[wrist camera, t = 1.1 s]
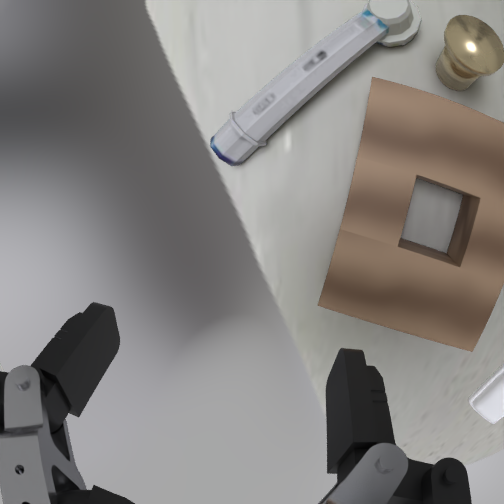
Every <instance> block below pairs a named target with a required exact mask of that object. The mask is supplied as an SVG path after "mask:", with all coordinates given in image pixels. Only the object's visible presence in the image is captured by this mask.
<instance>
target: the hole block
mask: <svg viewBox="0 0 504 504" xmlns="http://www.w3.org/2000/svg"><path fill="white" fill-rule="evenodd" d="M416 178H418V179H421V180H424V181H427V182H430V183H433V184H436V185H438V186H441V187H444V188H447V189H449V190H452V191H455V192H457V193H460V194H463V198H462V202H461V206H460V210H459V214H458V218H457V221H456V225H455V228H454V232H453V235H452V238H451V242H450V245H449V248H448V251H447V254H446V253H443V252H441V251H438V250H435V249H432V248H429V247H426V246H423V245H420V244H417V243H414V242H411V241H408V240H405V239H401V238H400V237H401V233H402V230H403V227H404V223H405V219H406V216H407V212H408V208H409V205H410V201H411V197H412V193H413V189H414V184H415V180H416ZM503 284H504V123H502V122H500V121H498V120H496V119H494V118H492V117H490V116H487V115H485V114H483V113H481V112H478V111H476V110H473V109H471V108H469V107H466V106H464V105H461V104H459V103H456V102H453V101H451V100H448V99H445V98H442V97H440V96H437V95H434V94H431V93H428V92H425V91H422V90H418V89H415V88H412V87H409V86H405V85H402V84H398V83H394V82H391V81H387V80H383V79H379V78H375V77H372V81H371V87H370V93H369V99H368V105H367V110H366V116H365V121H364V126H363V131H362V136H361V141H360V146H359V151H358V156H357V160H356V165H355V169H354V174H353V178H352V182H351V187H350V191H349V195H348V199H347V203H346V207H345V211H344V215H343V219H342V223H341V226H340V230H339V234H338V238H337V241H336V245H335V249H334V252H333V256H332V259H331V263H330V266H329V270H328V273H327V276H326V280H325V283H324V286H323V290H322V293H321V296H320V299H319V302H318V306H321V307H324V308H327V309H330V310H333V311H336V312H339V313H342V314H346V315H349V316H352V317H355V318H358V319H362V320H365V321H368V322H371V323H375V324H378V325H381V326H384V327H388V328H391V329H394V330H398V331H401V332H404V333H408V334H411V335H415V336H418V337H421V338H425V339H428V340H432V341H435V342H439V343H442V344H446V345H449V346H453V347H456V348H460V349H464V350H467V351H471V352H472V351H473V350H474V348H475V346H476V344H477V342H478V340H479V338H480V336H481V334H482V332H483V330H484V328H485V326H486V324H487V322H488V319H489V317H490V315H491V313H492V310H493V308H494V306H495V304H496V301H497V299H498V296H499V294H500V291H501V289H502V286H503Z"/></svg>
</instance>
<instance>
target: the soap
mask: <svg viewBox="0 0 504 504" xmlns="http://www.w3.org/2000/svg"><path fill="white" fill-rule="evenodd" d="M468 401H469V404H470V405H471V406H472V408H473V409H474V410H475V411H476V412H477V413H479V414H480V415H481V416H482V417H483V418H484V419H486V420H487V421H489V422H490V423H492V424H494V423H496V422H497V421H498V420H500V419H501V418H502V417H504V364H503V365H501V366H500V367H499V368H498V369H497V370H496V371H495V372H494V373H493V374H492V375H491V376H490V377H489V378H488V379H487V380H486V381H485V382H484V383H483V384H482V385H481V386H480V387H479V388H478V389H477V390H476V391H475V392H474V393H473V394H472V395H471V396H470V397H469V398H468Z"/></svg>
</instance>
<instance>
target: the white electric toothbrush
mask: <svg viewBox="0 0 504 504" xmlns="http://www.w3.org/2000/svg"><path fill="white" fill-rule="evenodd" d="M420 23H421V16H420V13H419V9H418V6H416V5H415V4H414V3H413V2H412V1H411V0H369V2H368V3H367V4H365V7H364V9H363V11H362V12H360V13H359V14H357V15H356V16H354V17H353V18H351V19H350V20H348V21H347V22H346V23H344V24H343V25H341V26H340V27H339V28H337V29H336V30H334V31H333V32H332V33H330V34H329V35H328V36H326V37H325V38H324V39H322V40H321V41H320V42H318V43H317V44H316V45H314V46H313V47H312V48H311V49H309V50H308V51H307V52H305V53H304V54H303V55H302V56H300V57H299V58H298V59H297V60H295V61H294V62H293V63H292V64H290V65H289V66H288V67H287V68H286V69H284V70H283V71H282V72H281V73H280V74H278V75H277V76H276V77H275V78H274V79H273V80H271V81H270V82H269V83H268V84H267V85H266V86H264V87H263V88H262V89H261V90H260V91H259V92H258V93H257V94H255V95H254V96H253V97H252V98H251V99H250V100H249V101H248V102H247V103H245V104H244V105H243V106H242V107H241V108H240V109H239V110H238V111H237V112H231V113H230V114H229V115H230V119H229V120H228V121H227V122H226V123H225V124H224V125H223V126H222V127H221V128H220V129H219V130H218V132H217V133H216V134H215V135H214V136H213V137H212V138H211V144H210V147H211V148H212V149H213V151H214V152H215V153H216V155H217V156H218V157H219V158H220V159H221V160H223V161H224V162H226V163H228V164H229V165H231V166H237V165H240V164H241V163H242V162H243V161H244V160H245V159H246V158H247V157H248V156H249V155H250V154H252V153H253V152H254V151H255V150H256V149H257V148H258V147H259V146H265V145H267V143H266V139H267V138H268V137H270V136H271V135H272V134H273V133H274V132H275V131H276V130H277V129H278V128H279V127H280V126H281V125H282V124H283V123H284V122H285V121H286V120H287V119H288V118H290V117H291V116H292V115H293V114H294V113H295V112H296V111H297V110H298V109H299V108H300V107H301V106H302V105H304V104H305V103H306V102H307V101H308V100H309V99H310V98H311V97H312V96H314V95H315V94H316V93H317V92H318V91H319V90H320V89H321V88H322V87H324V86H325V85H326V84H327V83H328V82H329V81H330V80H332V79H333V78H334V77H335V76H336V75H337V74H339V73H340V72H341V71H342V70H343V69H344V68H346V67H347V66H348V65H349V64H350V63H351V62H353V61H354V60H355V59H356V58H357V57H359V56H360V55H361V54H362V53H363V52H365V51H366V50H367V49H368V48H370V47H371V46H372V45H373V44H374V43H376V42H377V43H378V44H381V45H384V46H388V47H393V46H399V45H403V46H404V45H405V44H406V43H408V42H409V41H410V40H412V39H413V36H414V35H415V34H417V31H418V29H419V26H420Z"/></svg>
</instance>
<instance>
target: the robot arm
mask: <svg viewBox="0 0 504 504" xmlns="http://www.w3.org/2000/svg"><path fill="white" fill-rule="evenodd" d="M119 345H120V336H119V332H118V328H117V322H116V318H115V313H114V310H113V308H112V307H110V306H106V305H102V304H99V303H94V302H93V303H91V304H90V305H89V306H88V308H87V309H86V310H85V311H84V312H83V313H80V312H79V313H78V314H76V315H75V316H73V317H71V318H70V319H68V320H67V321H66V323H65V324H64V325H63V326H62V328H61V330H59V331H58V332H57V333H56V335H55V337H54V338H52V339H51V341H50V342H49V343H48V344H47V346H46V347H45V348H44V349H43V351H42V352H41V353H40V355H39V356H38V357H37V358H36V359H35V361H34V362H33V363H32V364H31V366H27V365H22V366H18V367H16V368H14V369H13V370H11V371H10V372H9V373H7V372H1V371H0V487H1V493H2V499H3V504H135V503H133V502H131V501H130V500H128V499H127V498H125V497H122V496H119V495H117V494H114V493H112V492H109V491H107V490H104V489H102V488H100V487H98V486H95V485H94V486H93V488H92V490H87V489H86V486H85V483H84V480H83V478H82V476H81V474H80V472H79V471H78V469H77V466H76V464H75V460H74V455H73V451H72V446H71V442H70V437H69V432H68V427H67V422H66V419H65V418H66V416H67V415H68V413H70V414H72V415H75V416H77V417H79V416H80V415H81V413H82V411H83V409H84V408H85V406H86V404H87V402H88V401H89V398H90V397H91V396H92V394H93V392H94V390H95V389H96V387H97V385H98V384H99V382H100V380H101V378H102V377H103V375H104V373H105V372H106V370H107V369H108V367H109V365H110V364H111V362H112V360H113V359H114V357H115V355H116V354H117V352H118V349H119ZM326 416H327V473H332V474H335V473H336V474H337V483H336V484H335V486H334V487H333V488H332V489H331V490H330V491H329V492H328V493H327V495H326V496H325V497H324V498H323V499H322V500H321V501H320V502H319V503H318V504H472V503H471V495H470V488H469V482H468V475H467V471H466V468H465V467H464V465H463V464H462V463H461V462H460V461H459V460H457V459H454V458H444V459H441V460H440V461H438V462H437V463H436V464H435V465H433V464H428V463H424V462H419V461H415V460H411V459H409V458H407V456H406V454H405V453H404V452H403V450H402V449H400V448H399V447H398V446H396V443H395V440H394V434H393V428H392V422H391V417H390V411H389V406H388V403H387V396H386V393H385V386H384V382H383V378H382V376H381V375H380V373H379V372H378V370H377V369H376V367H375V366H366V361H365V356H364V352H363V351H362V350H355V349H345V348H341V349H340V350H339V352H338V355H337V357H336V360H335V362H334V364H333V367H332V369H331V372H330V374H329V377H328V380H327V384H326Z"/></svg>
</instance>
